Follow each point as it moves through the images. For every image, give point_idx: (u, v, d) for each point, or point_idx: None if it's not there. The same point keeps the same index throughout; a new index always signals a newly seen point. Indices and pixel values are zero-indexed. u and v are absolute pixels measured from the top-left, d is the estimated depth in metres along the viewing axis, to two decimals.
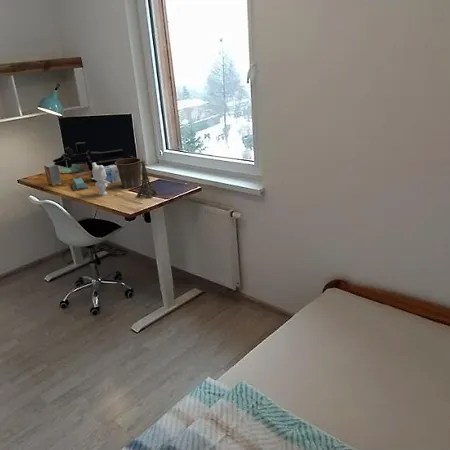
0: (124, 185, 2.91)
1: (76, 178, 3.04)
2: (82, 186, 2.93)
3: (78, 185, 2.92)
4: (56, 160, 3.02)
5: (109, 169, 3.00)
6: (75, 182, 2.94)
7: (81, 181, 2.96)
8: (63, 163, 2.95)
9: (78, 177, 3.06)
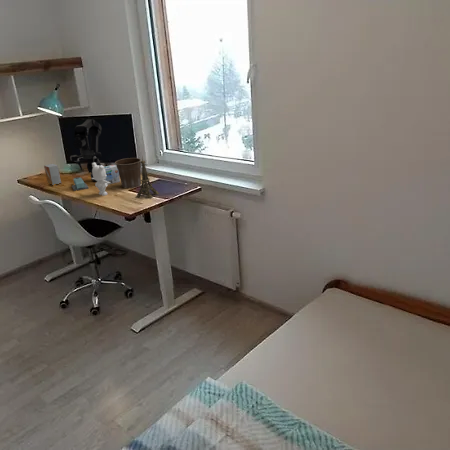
0: (124, 185, 2.91)
1: (76, 178, 3.04)
2: (82, 186, 2.93)
3: (78, 185, 2.92)
4: (81, 167, 2.94)
5: (109, 169, 3.00)
6: (75, 182, 2.94)
7: (81, 181, 2.96)
8: None
9: (78, 177, 3.06)
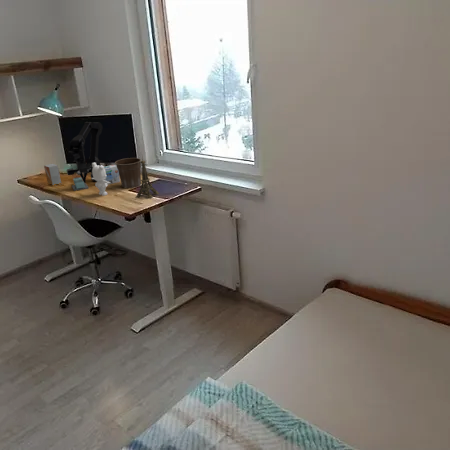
0: (124, 185, 2.91)
1: (76, 178, 3.04)
2: (82, 186, 2.93)
3: (78, 185, 2.92)
4: None
5: (109, 169, 3.00)
6: (75, 182, 2.94)
7: (81, 181, 2.96)
8: None
9: (78, 177, 3.06)
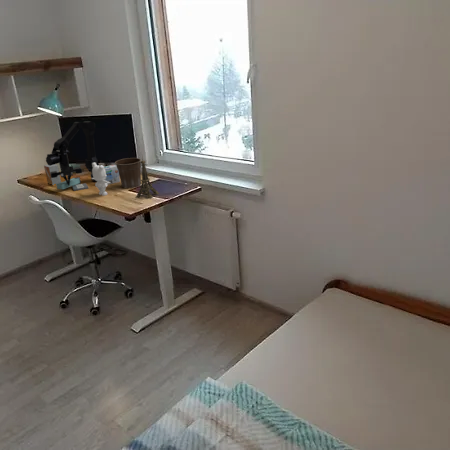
0: (124, 185, 2.91)
1: (75, 178, 3.04)
2: (60, 187, 2.93)
3: (57, 186, 2.94)
4: None
5: (109, 169, 3.00)
6: (61, 182, 2.97)
7: (65, 182, 2.95)
8: None
9: (79, 177, 3.05)
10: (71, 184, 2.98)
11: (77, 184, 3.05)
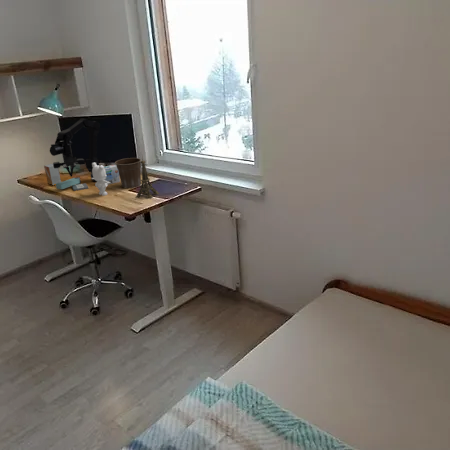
0: (124, 185, 2.91)
1: (75, 178, 3.04)
2: (59, 187, 2.93)
3: (57, 185, 2.94)
4: (70, 173, 2.92)
5: (109, 169, 3.00)
6: (61, 182, 2.97)
7: (65, 182, 2.96)
8: None
9: (79, 177, 3.05)
10: (70, 184, 2.98)
11: (77, 184, 3.05)
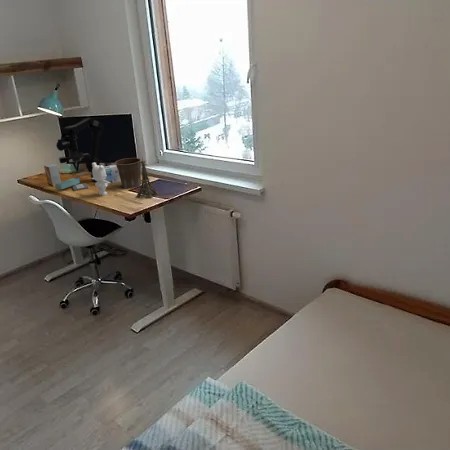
0: (124, 185, 2.91)
1: (75, 178, 3.04)
2: (59, 187, 2.93)
3: (57, 185, 2.94)
4: (76, 168, 2.94)
5: (109, 169, 3.00)
6: (61, 182, 2.97)
7: (65, 182, 2.96)
8: None
9: (79, 177, 3.05)
10: (70, 184, 2.98)
11: (77, 184, 3.05)
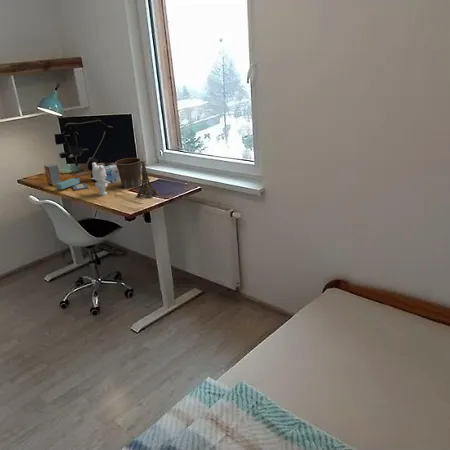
0: (124, 185, 2.91)
1: (75, 178, 3.04)
2: (59, 187, 2.93)
3: (57, 185, 2.94)
4: (76, 162, 3.05)
5: (109, 169, 3.00)
6: (61, 182, 2.97)
7: (65, 182, 2.96)
8: None
9: (79, 177, 3.05)
10: (70, 184, 2.98)
11: (77, 184, 3.05)
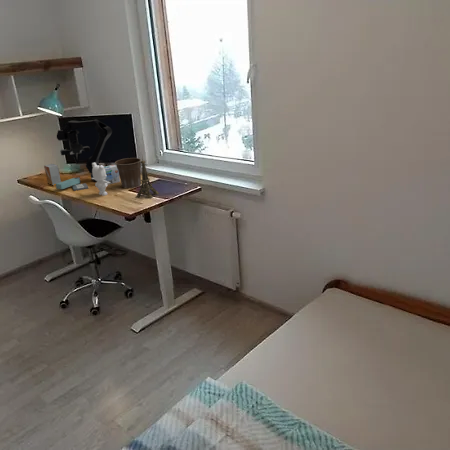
0: (124, 185, 2.91)
1: (75, 178, 3.04)
2: (59, 187, 2.93)
3: (57, 185, 2.94)
4: None
5: (109, 169, 3.00)
6: (61, 182, 2.97)
7: (65, 182, 2.96)
8: None
9: (79, 177, 3.05)
10: (70, 184, 2.98)
11: (77, 184, 3.05)
